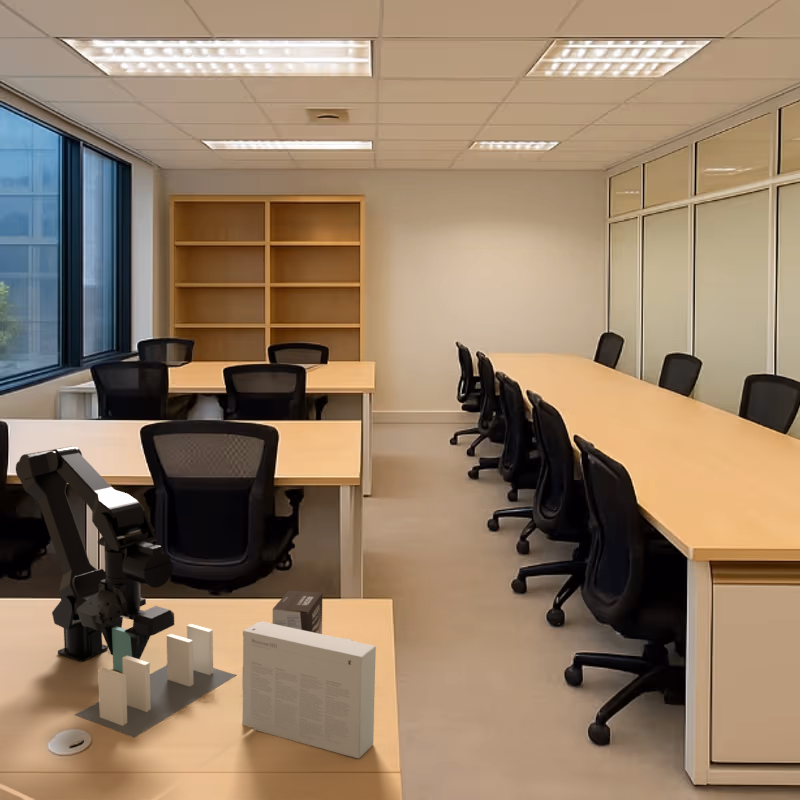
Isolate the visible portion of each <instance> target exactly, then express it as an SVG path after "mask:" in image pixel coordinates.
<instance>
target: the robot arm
mask: <svg viewBox="0 0 800 800" xmlns="http://www.w3.org/2000/svg"><path fill="white" fill-rule="evenodd" d="M15 473H16V476H17V477H18V479H19V480H20V483H21V485H22V488H23V490H24V492H26V493H27V494H28V495H30V496H31V497H32V498H33V499H35V501H37V503H38V505H39V508H40V510H41V513H42V516H43V519H44V523H45V525H46V528H47V531H48V534H49V537H50V540H51V543H52V545H53V548H54V551H55V554H56V555H55V556H56V557H57V560H58V563H59V566H60V569H61V572H62V577H61V582H60V586H59V589H58V593H59V598H60V601H59V603H58V604H57V605H56V607H55V608H54V609H53V610H52V612H51V613H52V618H53V623H54V625H56V626H58V627H61V628H63V642H64V643H63V644H64V645H63V646H64V647H63V648H61V649H58V650H57V654H58V655H61V656H63V657H66V658H69V659H73V660H76V661H78V662H84V661H86V660H89V659H90V658H92V657H95V656H96V655H98V654H101V653H103V652H105V651H107V650H109V651H108V652H109V653H110V655H111V656H113V647H112V628H113V627H116V626H117V627H121V628H123V627H122V626H123V619H127V620H131V621H132V627H129V628H126V629H127V630H125V632H126V633H127V634H128V635H129V636H130V638H131V650H132V657H133V658H137V659H140V660H141V657H142V655H143V653H144V651H145V648H146V647H147V645H148V642H149V640H150V638H151V636H154V635H156V634H158V633H161V632H163V631H165V630H168V629H169V628H171V627H173V626H175V613H174V612H173V611H172V610H171V609H169V608H165V607H162V606H158V605H154V606H152V607H149V608H148V609H145V610H142V609H141V607H143V606H145V605H147V599H146V598H145V597H142V596H141V584H143V585H145V586H148V587H150V588H160V587H162V586H163V585H165V584H167V582H168V581H169V579H170V578H171V576H172V573H173V568H174V567H173V566H174V564H173V562H172V560H171V557H170V556H169V555H168V554H166V553H163V547H162V546H161V545H158V544H153V543H151V542H154V541H155V542H156V541H157V536H156V534H155V528H154V526H153V525H152V523H151V521H150V520H149V517H148V515H147V513H146V511H145V509H144V507H143V505H142V504H141V503H140V502H139V501H138V499H136V498H134V497H133V496H131V495H130V494H129V493H127V492H126V493H125V492H124V491H120V490H117V489H114V487H112V486H111V485H110V484H109V483H108V482H107V481H106V480H105V478H103V477H102V475H101V474H100V473H99V472H98V471H97V470H96V468H94V467H93V466H92V465H91V464H90V463H89V462H88V461H87V459H86V458H84V457H83V454H82V451H81V450H80V448H79V447H76V446H71V445H70V446H65V447H60V448H54V449H49V450H42V451H37V452H31V453H25V454H23V455H21V456H20V458H19V460H18V461H17V462H16V464H15ZM67 485H69V487H71V488H72V490H73V491H74V492H75V493H76V495H78V496H79V497H80V499H81V500H82V501H83V502H84V503H85V505H87V506H88V507H89V509H90V510H91V514H92V515H91V517H92V518H91V520H92V523H93V525H94V527H95V528H96V530H97V532H99V534H100V536H101V537H100V538H99V539H98V540H97V544H98V545H100V546H103V548H104V549H103V550H104V569H103V568H99V569H97V568H95V566H93V565H92V564H91V563H90V560H89V556H88V554H87V552H86V549H85V545H84V542H83V539H82V536H81V534H80V531H79V528H78V526H77V525H78V524H77V522H76V519H75V515H74V514H73V511H72V507H71V505H70V502H69V500H68V499H69V498H68V496H67V494H66V493H67V492H66V489H67ZM137 532H140V533H137ZM134 533H137V534H134ZM131 534H132V535H131ZM133 534H134V535H133ZM127 535H128V536H127ZM125 536H126V537H125ZM103 638H104V641H105V643H106V644H103Z"/></svg>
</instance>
